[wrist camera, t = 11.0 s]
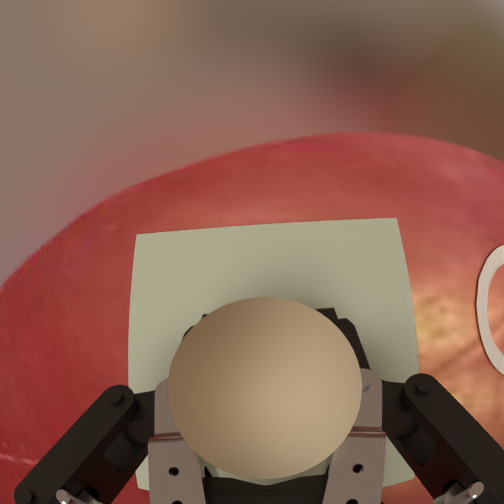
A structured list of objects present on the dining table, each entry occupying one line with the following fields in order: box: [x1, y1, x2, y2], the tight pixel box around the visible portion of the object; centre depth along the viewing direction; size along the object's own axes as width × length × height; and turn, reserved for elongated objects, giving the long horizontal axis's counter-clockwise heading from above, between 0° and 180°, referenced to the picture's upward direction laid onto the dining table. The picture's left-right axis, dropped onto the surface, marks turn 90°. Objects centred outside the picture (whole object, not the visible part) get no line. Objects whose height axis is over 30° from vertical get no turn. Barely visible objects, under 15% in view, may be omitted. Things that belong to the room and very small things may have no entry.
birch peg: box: [168, 297, 362, 479], centre depth 10 cm, size 4×4×11 cm
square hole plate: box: [128, 218, 419, 490], centre depth 15 cm, size 16×16×4 cm
